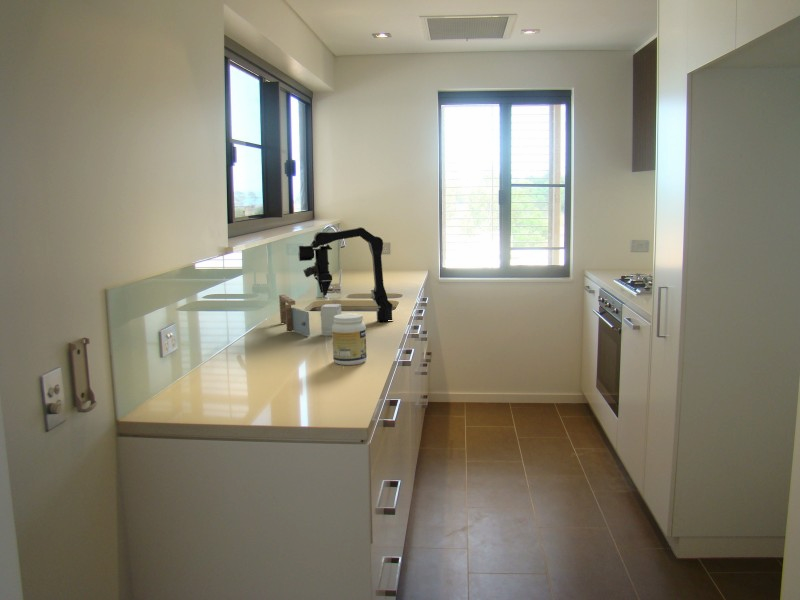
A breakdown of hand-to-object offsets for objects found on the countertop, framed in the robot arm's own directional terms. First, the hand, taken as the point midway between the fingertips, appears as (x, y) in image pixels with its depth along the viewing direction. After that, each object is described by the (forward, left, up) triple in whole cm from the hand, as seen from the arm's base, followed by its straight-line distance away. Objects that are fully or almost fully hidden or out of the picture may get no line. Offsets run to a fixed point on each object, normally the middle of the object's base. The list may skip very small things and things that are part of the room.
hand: (323, 293), depth 318 cm
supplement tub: (+1, +71, -15) cm, 73 cm away
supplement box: (0, +20, -15) cm, 25 cm away
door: (+13, +15, -14) cm, 24 cm away
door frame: (+17, -2, -15) cm, 23 cm away
